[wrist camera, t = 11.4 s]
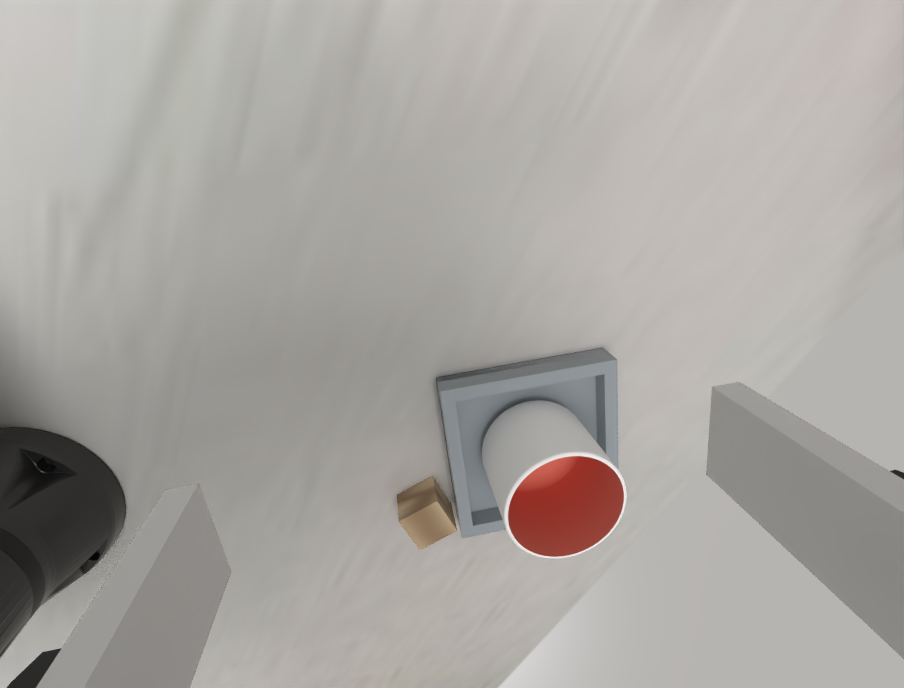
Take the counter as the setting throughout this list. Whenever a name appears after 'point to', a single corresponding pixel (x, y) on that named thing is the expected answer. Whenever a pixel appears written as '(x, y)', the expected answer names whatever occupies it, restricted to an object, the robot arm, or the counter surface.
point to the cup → (551, 480)
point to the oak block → (426, 513)
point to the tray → (499, 388)
